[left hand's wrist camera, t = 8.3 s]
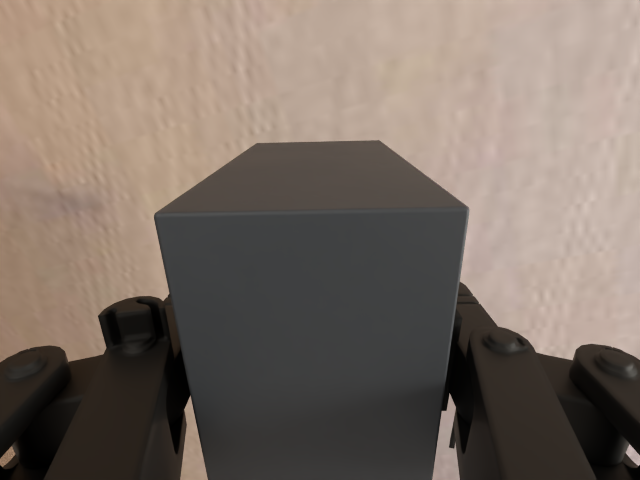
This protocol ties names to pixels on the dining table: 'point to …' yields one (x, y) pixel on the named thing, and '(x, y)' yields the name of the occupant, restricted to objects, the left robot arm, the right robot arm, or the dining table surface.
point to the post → (315, 310)
